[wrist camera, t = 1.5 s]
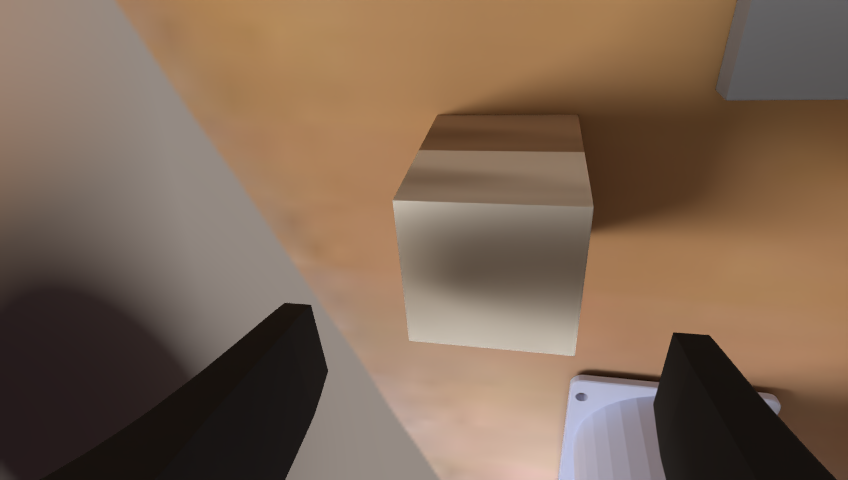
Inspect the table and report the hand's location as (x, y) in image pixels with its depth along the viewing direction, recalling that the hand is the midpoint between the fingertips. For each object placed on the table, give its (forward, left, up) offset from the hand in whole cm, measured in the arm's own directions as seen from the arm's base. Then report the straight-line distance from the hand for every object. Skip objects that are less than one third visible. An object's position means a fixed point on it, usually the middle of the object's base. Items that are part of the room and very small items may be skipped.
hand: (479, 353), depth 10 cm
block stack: (0, 0, -9) cm, 9 cm away
